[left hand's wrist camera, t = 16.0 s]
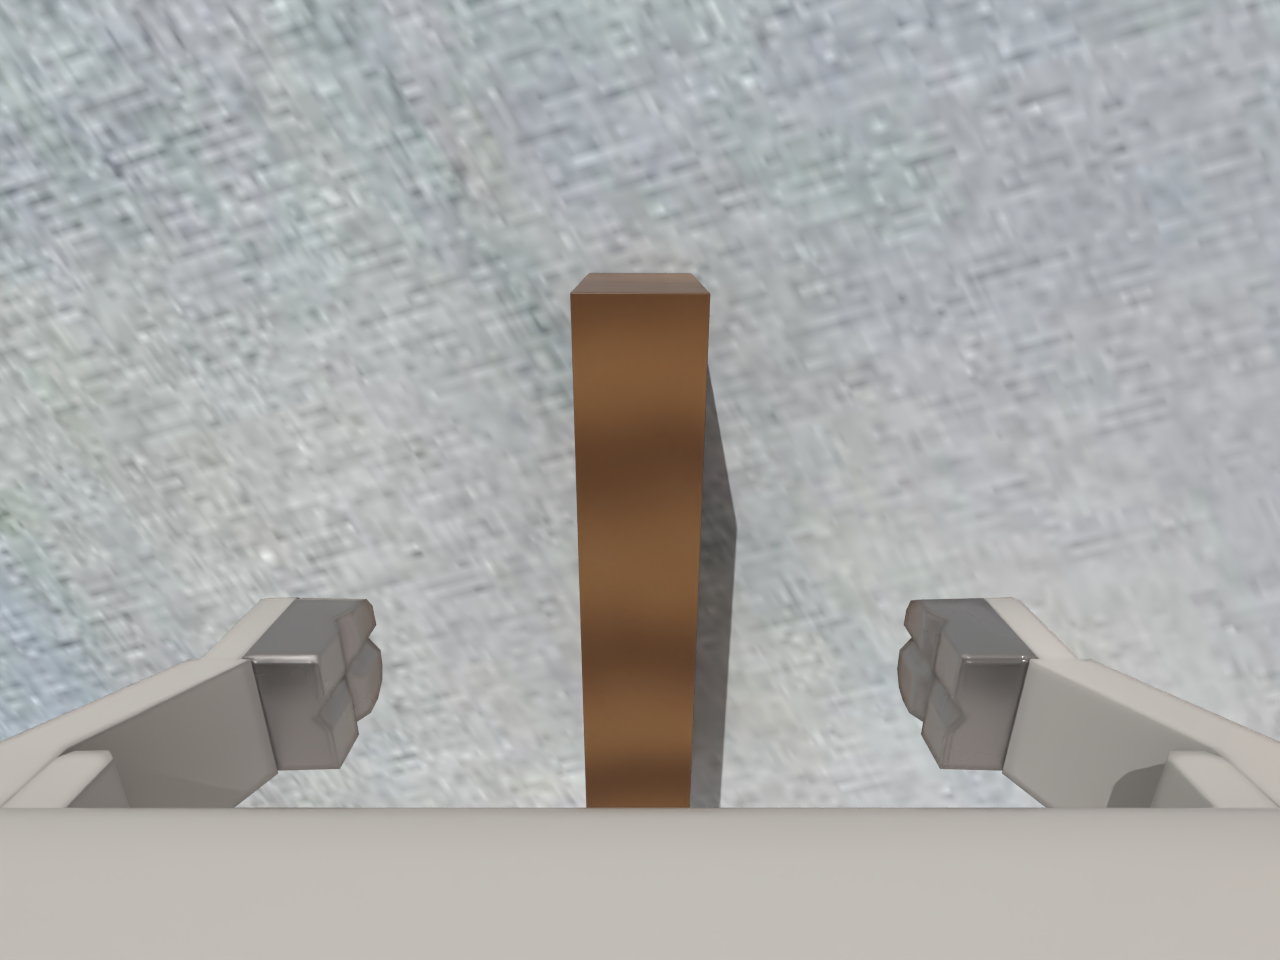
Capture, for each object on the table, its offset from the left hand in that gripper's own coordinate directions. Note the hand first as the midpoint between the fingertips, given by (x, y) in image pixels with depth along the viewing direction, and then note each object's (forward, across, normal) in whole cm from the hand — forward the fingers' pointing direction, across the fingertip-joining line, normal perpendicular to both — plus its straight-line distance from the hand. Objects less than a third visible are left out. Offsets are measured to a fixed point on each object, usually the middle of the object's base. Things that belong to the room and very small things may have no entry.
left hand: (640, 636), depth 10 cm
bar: (+23, 0, -10) cm, 25 cm away
